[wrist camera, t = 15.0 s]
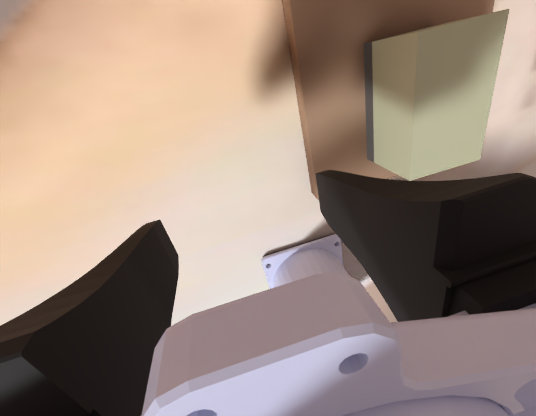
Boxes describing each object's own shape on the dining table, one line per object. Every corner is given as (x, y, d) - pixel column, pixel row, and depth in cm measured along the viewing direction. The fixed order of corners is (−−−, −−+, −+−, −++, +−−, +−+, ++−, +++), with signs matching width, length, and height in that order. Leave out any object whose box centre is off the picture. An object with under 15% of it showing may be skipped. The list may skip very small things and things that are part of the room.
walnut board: (454, 149, 24) (468, 153, 23) (311, 192, 23) (318, 199, 21) (495, -145, 15) (522, -166, 14) (267, -98, 14) (273, -115, 13)
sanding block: (423, 142, 21) (480, 159, 17) (366, 158, 21) (409, 181, 16) (432, 26, 17) (509, 8, 13) (363, 43, 17) (418, 32, 12)
